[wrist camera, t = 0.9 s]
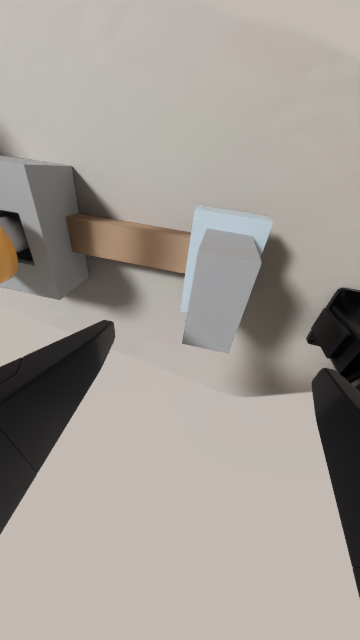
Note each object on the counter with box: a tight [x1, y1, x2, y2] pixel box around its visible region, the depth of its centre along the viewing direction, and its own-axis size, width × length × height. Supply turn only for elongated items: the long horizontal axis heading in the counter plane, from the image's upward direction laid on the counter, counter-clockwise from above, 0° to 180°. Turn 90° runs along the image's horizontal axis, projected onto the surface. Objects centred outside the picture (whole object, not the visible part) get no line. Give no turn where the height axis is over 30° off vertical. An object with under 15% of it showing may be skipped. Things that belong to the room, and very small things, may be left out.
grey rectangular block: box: [0, 155, 89, 300], centre depth 18 cm, size 7×10×5 cm
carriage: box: [180, 205, 273, 353], centre depth 14 cm, size 5×8×7 cm, turn 173°
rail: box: [66, 213, 191, 274], centre depth 19 cm, size 16×3×2 cm, turn 83°
